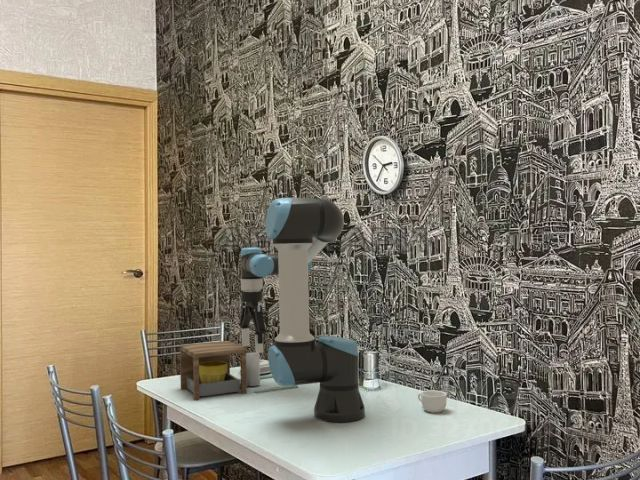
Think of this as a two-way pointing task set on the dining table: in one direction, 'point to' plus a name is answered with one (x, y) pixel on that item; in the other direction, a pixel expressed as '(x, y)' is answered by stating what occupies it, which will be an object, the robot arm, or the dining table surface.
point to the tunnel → (209, 352)
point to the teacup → (433, 400)
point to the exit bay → (272, 388)
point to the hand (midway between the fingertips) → (252, 349)
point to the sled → (230, 379)
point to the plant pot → (212, 371)
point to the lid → (263, 367)
